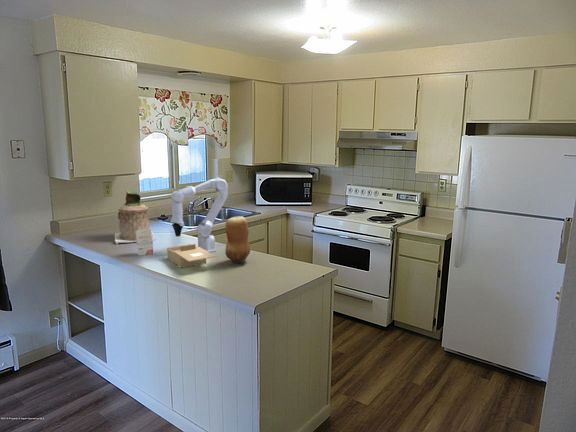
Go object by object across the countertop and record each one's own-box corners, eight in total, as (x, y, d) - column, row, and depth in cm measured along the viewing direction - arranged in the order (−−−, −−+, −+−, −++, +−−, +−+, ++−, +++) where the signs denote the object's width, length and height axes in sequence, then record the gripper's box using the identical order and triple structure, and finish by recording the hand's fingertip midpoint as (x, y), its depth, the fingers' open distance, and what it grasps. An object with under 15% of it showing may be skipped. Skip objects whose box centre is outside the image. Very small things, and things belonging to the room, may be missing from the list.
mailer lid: (199, 247, 233) (199, 242, 233) (216, 257, 217) (215, 251, 216) (173, 252, 225) (173, 246, 225) (188, 261, 209) (188, 255, 208)
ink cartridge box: (153, 252, 248) (152, 227, 245) (153, 254, 243) (151, 229, 240) (138, 253, 245) (136, 228, 242) (137, 255, 241) (135, 230, 238)
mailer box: (191, 254, 243) (190, 244, 242) (206, 263, 227) (205, 252, 226) (167, 258, 235) (166, 248, 234) (181, 268, 219) (180, 256, 218)
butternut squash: (223, 259, 233) (222, 215, 228) (247, 257, 238) (246, 213, 233) (229, 267, 221) (227, 220, 216) (254, 264, 225) (253, 218, 220)
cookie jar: (156, 241, 271) (153, 191, 265) (114, 245, 263) (110, 193, 256) (153, 232, 294) (150, 186, 288) (114, 235, 285) (110, 188, 279)
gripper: (165, 211, 243) (166, 234, 246) (175, 215, 231) (175, 239, 234) (177, 210, 247) (178, 233, 250) (187, 214, 235) (188, 238, 238)
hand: (178, 236), depth 242 cm, fingers closed
